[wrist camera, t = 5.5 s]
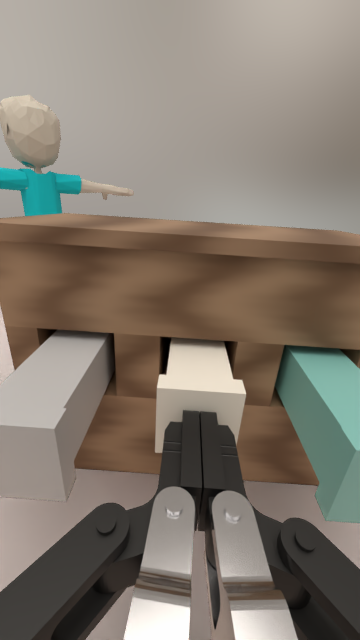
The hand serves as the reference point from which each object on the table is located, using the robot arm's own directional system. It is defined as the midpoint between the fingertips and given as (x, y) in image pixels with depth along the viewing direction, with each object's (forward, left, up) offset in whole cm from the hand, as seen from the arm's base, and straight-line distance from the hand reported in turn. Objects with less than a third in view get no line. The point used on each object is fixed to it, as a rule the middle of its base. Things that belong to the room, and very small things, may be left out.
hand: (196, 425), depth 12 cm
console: (+5, +8, -9) cm, 13 cm away
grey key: (-5, +5, -2) cm, 8 cm away
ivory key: (+2, +4, -2) cm, 5 cm away
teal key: (+7, -2, -2) cm, 8 cm away
